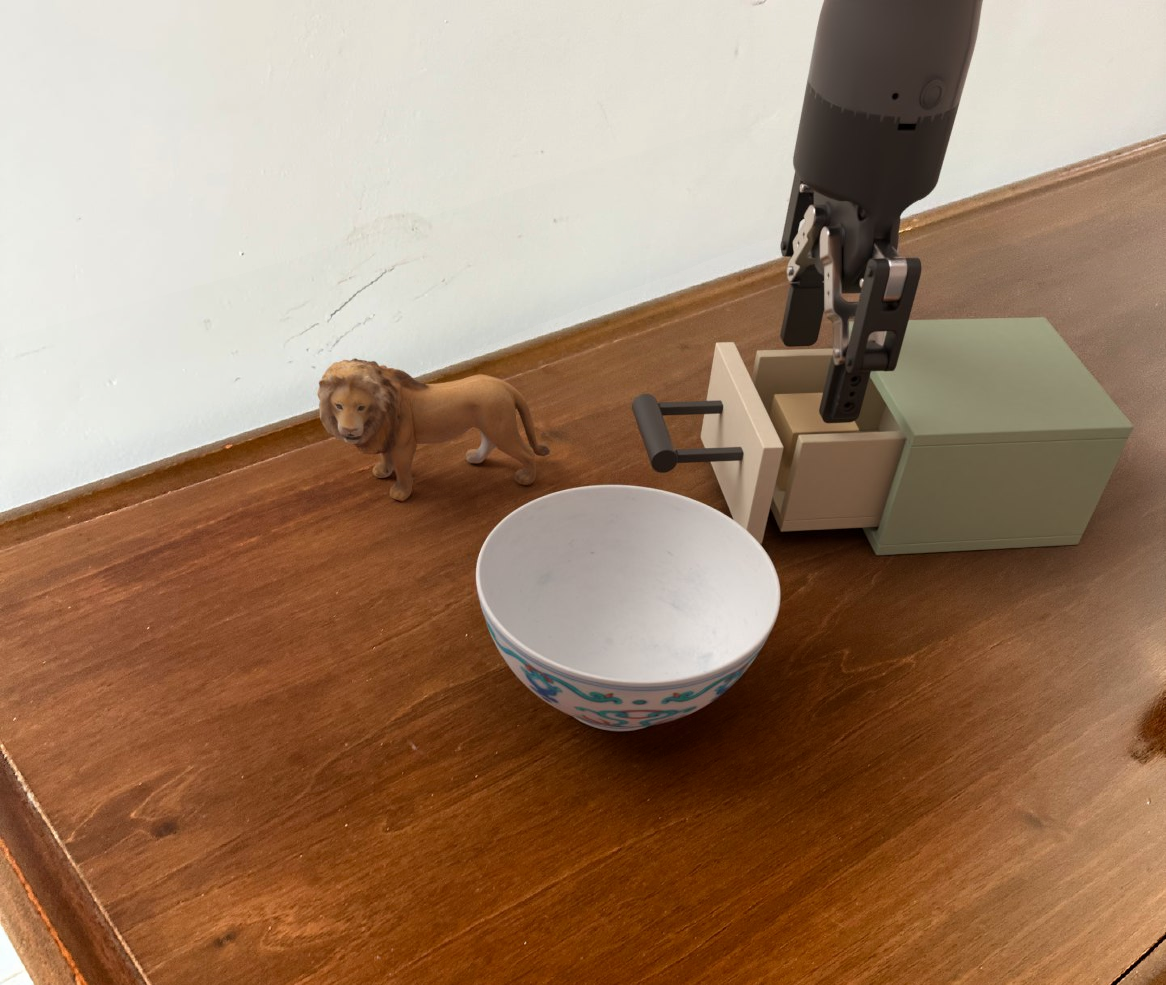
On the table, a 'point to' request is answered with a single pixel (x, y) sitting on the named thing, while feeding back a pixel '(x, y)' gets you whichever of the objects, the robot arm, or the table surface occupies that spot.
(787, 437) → the birch block
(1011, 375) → the cabinet
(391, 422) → the lion figurine
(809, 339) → the robot arm
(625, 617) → the chinaware
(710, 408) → the drawer
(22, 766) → the table surface
